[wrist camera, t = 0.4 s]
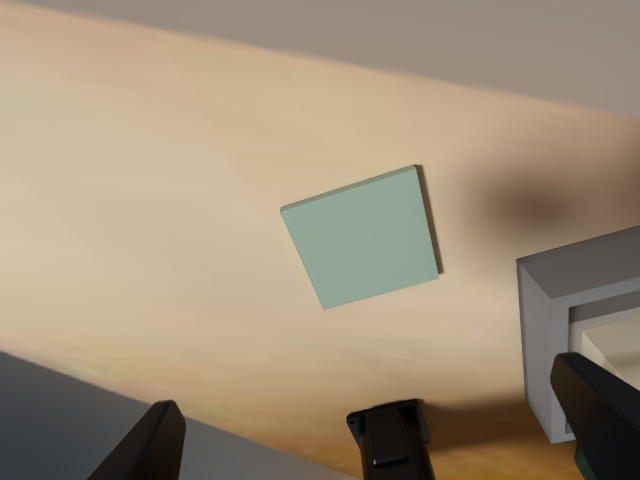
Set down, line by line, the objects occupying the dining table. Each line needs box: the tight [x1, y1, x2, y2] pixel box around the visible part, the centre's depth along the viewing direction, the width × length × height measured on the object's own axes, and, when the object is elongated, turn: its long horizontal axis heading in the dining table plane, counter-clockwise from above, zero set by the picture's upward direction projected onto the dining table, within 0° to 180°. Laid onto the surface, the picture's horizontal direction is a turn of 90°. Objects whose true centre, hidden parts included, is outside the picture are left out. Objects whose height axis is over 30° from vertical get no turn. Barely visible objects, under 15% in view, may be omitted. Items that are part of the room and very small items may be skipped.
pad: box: [280, 165, 439, 310], centre depth 23 cm, size 8×8×1 cm
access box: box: [516, 226, 640, 444], centre depth 26 cm, size 16×11×4 cm
